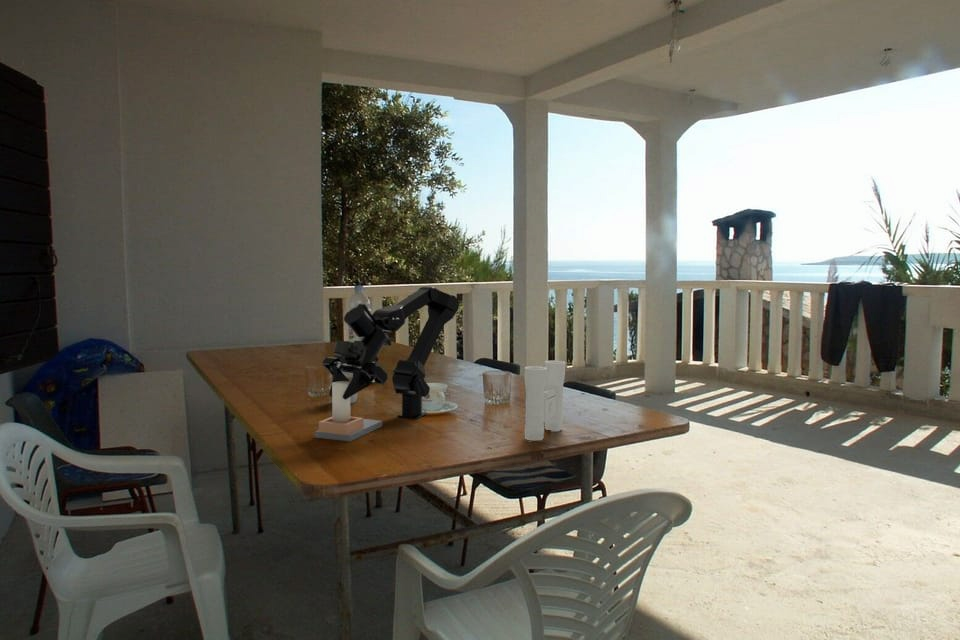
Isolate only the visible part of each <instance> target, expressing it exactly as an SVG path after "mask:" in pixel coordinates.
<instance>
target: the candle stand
mask: <svg viewBox="0 0 960 640" xmlns="http://www.w3.org/2000/svg"><path fill="white" fill-rule="evenodd" d="M350 419H351V421H350V422H348V423H346V424H344V423H335V422H333V416H331V417H328V418H325V419H323V420H320V421H318V429H317V430H315V431H314V435H315V436H314V438H317V439H326V440H335V441H341V442H342V441H343V442H352V441H355V440H357V439H358V438H361V437H363V436H366V435H367V434H369V433H371V432H373V431H376V430H378V429H379V428H382V427H383V420H378V419H377V420H375V419H367V418H364V417H358V416H351V415H350Z"/></svg>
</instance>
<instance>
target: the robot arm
mask: <svg viewBox="0 0 960 640" xmlns="http://www.w3.org/2000/svg"><path fill="white" fill-rule="evenodd" d="M425 306H426V307H427V313H428V314H427V316H428V318H427V319H426V322H425V324H424V326H423V328H422V330H421V332H420V334H419V336H418V338H417V340H416V343H415V344H414V347H412V350H411V353H410V355H409V356H408V357H407V359H405V360H404V359H399V361H398V362H397V364H396V366H395V368H394V370H393V371H392V372H393V374H392V376H391V380H392V385H393V388H394V393H395V394H396V395H398V394H399V395H401V412H400V413H398V414H397V415H396V416H397V417H398V418H406V419H416V420H417V419H420V418H421V417H424V416H426V415H427V413H428V412H425V411H423V397H427V396H429V395H430V391H431V387H430V386H429V384H428V383H427V382H426V381H425V377H426V369H425V365H426V363H427V361H428V359H429V356H430V354H431V353H432V350H433V348H434V346H435V344H436V342H437V340H438V338H439V336H440V333H441V332H442V330H443V328H444V326H445V325H446V324H447V323H448V322H450V321H451V320H453V318H454V317H455V316H456V314H457V312H458V311H459V307H460V302H459V300H458V298H457V297H456V295H453V294H452V295H451V294H449V293H446V292H445V291H441V290H440V289H438V288H436V287H434V286H421V287H419V288H418V290H416V291H414V292H413V293H412V294H410V295H408V296H407V297H405V298H404V299H402V300H401V301H399V302H397V303H395V304H393V305H390V306H389V305H388V306H383V307H382V308H378V309H375V310H374V312H373V313H371V311H370V310H369V309H368V306H367V305H366V304H364V303H359V304H358V305H357V306H356V307H353V308H351V309H350V310H349V311H346V313H345V315H344V317H343V321H344V323H345V324H346V325H347V326H348V328H350V330H351V331H352V332H353V334H354V335H355V336H356V337H358V338H361V339H360V340H353V342H351V341H346V340H336V343H335V346H334V349H333V353H334V354H336V353H337V354H340V355H342V356H343V358H342V359H343V360H344V361H346V362H347V363H346V364H343V363H342V362H341V360H340V359H339V358H334V356H327V357H324V359H323V361H322V362H321V365H322V366H323V367H324V368H325V369H326V370H327V372H328V373H329V375H331V376H332V380H331V381H332V382H331V386H330V390H329V396H330V397H331V398H332V383H333V382H338V381H347V382H349V379H348V378H347V377H346V375H347V372H348V373H353V378H352V380H351V382H350V384H349V385H348V387H347V389H346V391H345V393H344V395H343V398H344V399H345V400H346V399H348V398H349V397H351V396H352V395H354V394H356V393H357V394H358V393H360V392H361V391H362V390H364V389H366V388H368V387H370V386H371V387H372V386H373V385H374V383H375V384H377V385H383V386H384V385H385V384H386V382H387V380H388V373H387V372H386V371H385V370H384V368H383V367H382V366H381V365H380V363H378V361H379V357H378V355H379V353H380V352H381V351H382V349H383V347H385V346H387V347H388V346H389V347H391V346H392V341H391V335H387V334H386V333H385V332H391V333H395V332H397V331H399V330H400V329H401V328H402V327H403V326H404V325H405V323H406V320H407V318H408V317H410V316H412V315H413V314H415V313H416V312H417V311H419V310H420V309H422V308H424V307H425ZM373 382H374V383H373Z"/></svg>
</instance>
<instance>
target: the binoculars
mask: <svg viewBox="0 0 960 640" xmlns="http://www.w3.org/2000/svg"><path fill="white" fill-rule="evenodd" d="M565 377H566V362H565V361H563V360H551V359H550V360H545V361H544V366H539V365H538V366H536V365H533V366H531V365H529V366H525V367H524V388H525V402H524V403H525V412H524V414H525V421H524V422H525V423H524V424H525V425H524V439H527V440H542V439H543V438H544V435H545V429H546V431H547V430H551V431H550V432H561V431H563V425H564V418H563V415H564V414H563V409H564V406H563V403H564V402H563V401H564V383H565ZM560 430H561V431H560ZM527 440H526V441H527Z"/></svg>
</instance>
